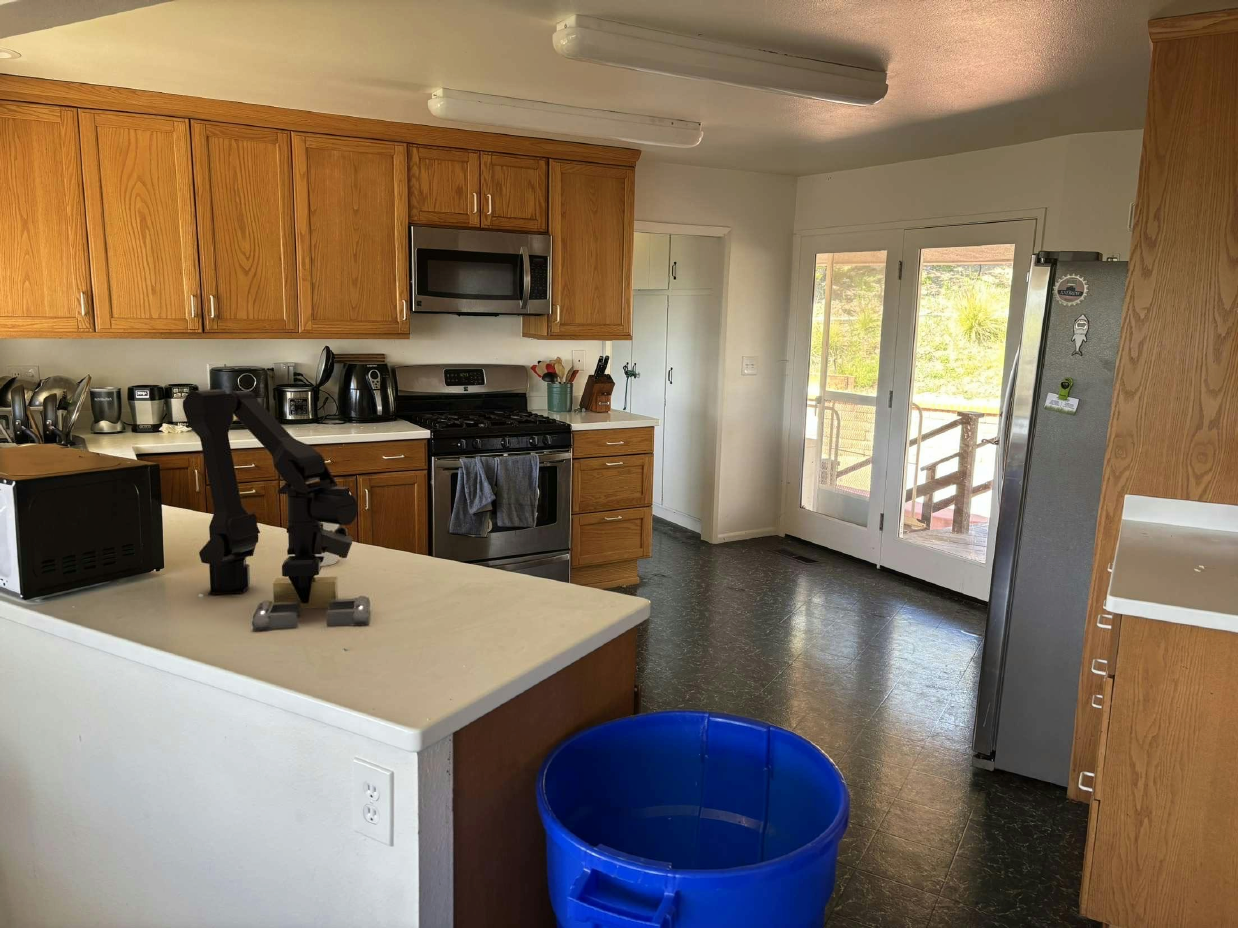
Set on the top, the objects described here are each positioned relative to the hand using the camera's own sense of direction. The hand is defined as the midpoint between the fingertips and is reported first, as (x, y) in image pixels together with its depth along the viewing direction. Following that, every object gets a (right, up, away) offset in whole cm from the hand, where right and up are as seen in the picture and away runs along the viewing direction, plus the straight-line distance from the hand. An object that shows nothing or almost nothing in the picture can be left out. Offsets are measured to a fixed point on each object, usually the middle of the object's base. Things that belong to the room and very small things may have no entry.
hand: (306, 599), depth 163 cm
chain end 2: (+10, -2, -6) cm, 12 cm away
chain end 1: (-2, -3, -9) cm, 10 cm away
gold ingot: (0, -1, 0) cm, 1 cm away
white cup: (-7, +4, +29) cm, 30 cm away
